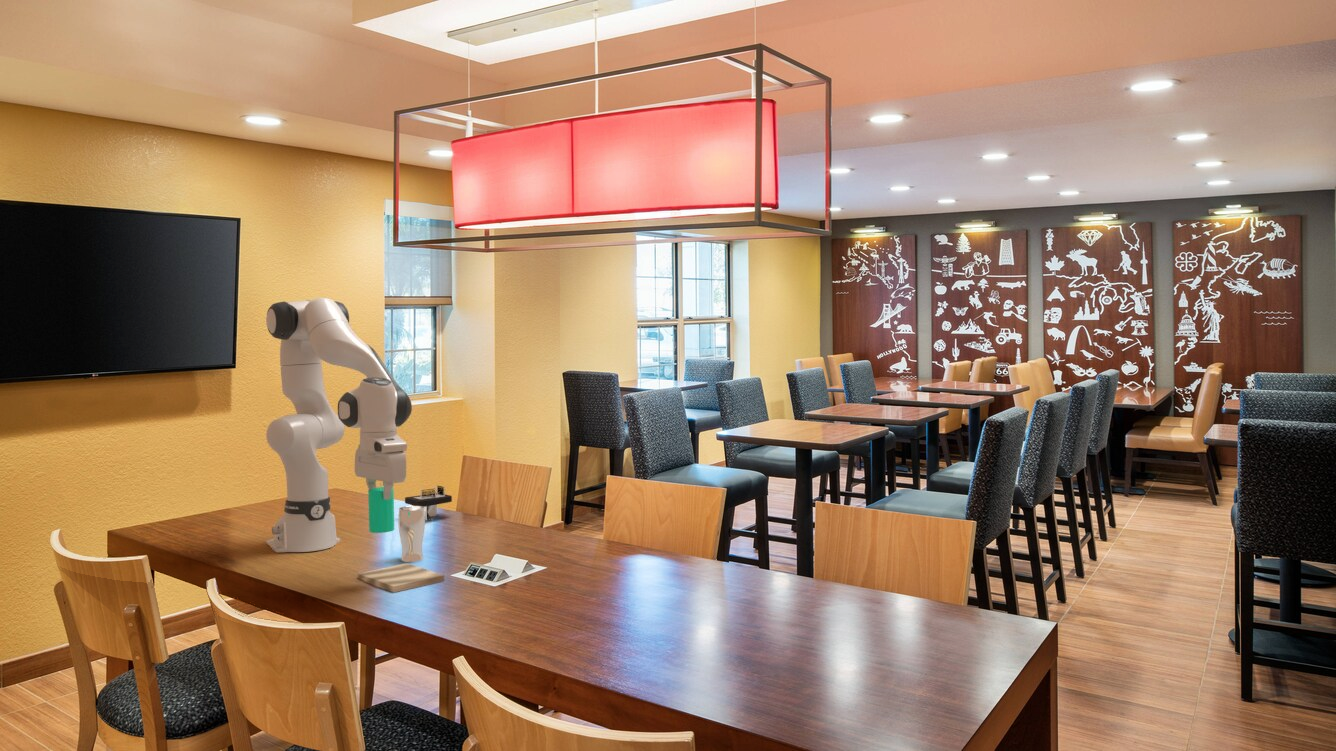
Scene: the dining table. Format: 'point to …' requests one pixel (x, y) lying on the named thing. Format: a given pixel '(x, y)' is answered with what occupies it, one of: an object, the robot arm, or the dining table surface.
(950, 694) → the dining table surface
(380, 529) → the candle
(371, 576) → the birch board
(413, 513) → the beer glass
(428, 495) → the black-topped pedestal
